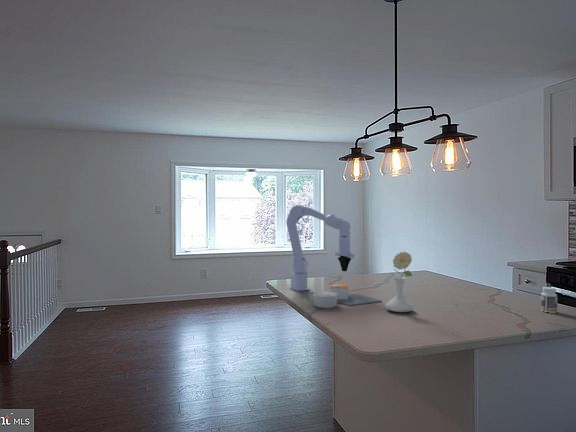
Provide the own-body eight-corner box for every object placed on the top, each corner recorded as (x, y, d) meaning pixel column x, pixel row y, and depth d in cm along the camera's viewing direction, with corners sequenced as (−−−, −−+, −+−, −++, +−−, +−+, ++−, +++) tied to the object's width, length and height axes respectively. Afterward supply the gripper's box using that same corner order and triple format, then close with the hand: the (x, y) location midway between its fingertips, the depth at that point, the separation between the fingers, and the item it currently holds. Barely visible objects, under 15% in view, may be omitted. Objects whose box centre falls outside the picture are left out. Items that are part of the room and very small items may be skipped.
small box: (348, 284, 194) (348, 288, 184) (348, 295, 194) (348, 300, 184) (331, 283, 195) (330, 287, 185) (331, 295, 195) (330, 299, 185)
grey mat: (326, 297, 192) (326, 296, 192) (358, 294, 200) (358, 293, 200) (348, 305, 176) (348, 304, 176) (381, 301, 184) (381, 300, 184)
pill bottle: (558, 311, 167) (559, 287, 167) (555, 314, 163) (555, 289, 163) (542, 309, 171) (543, 286, 171) (539, 311, 167) (539, 287, 167)
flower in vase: (379, 309, 171) (380, 249, 170) (401, 306, 175) (402, 249, 174) (399, 316, 159) (399, 253, 158) (422, 314, 163) (423, 252, 162)
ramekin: (315, 309, 170) (315, 297, 170) (309, 303, 181) (309, 291, 181) (341, 308, 172) (341, 296, 172) (334, 302, 183) (334, 290, 183)
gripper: (359, 245, 202) (359, 272, 202) (343, 243, 215) (342, 268, 215) (347, 245, 199) (347, 273, 199) (331, 243, 212) (331, 269, 212)
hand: (344, 271), depth 207 cm, fingers closed
